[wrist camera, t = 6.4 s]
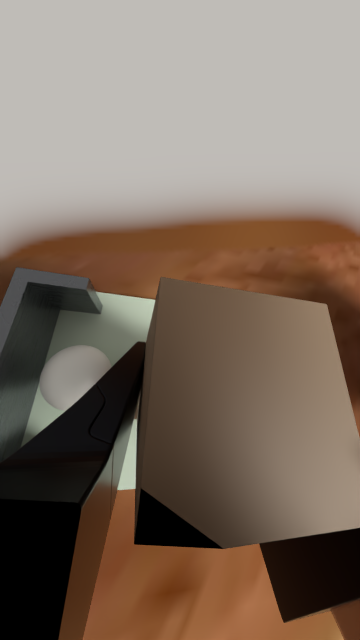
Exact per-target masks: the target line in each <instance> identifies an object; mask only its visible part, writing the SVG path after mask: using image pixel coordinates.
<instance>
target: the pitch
mask: <svg viewBox="0 0 360 640" xmlns="http://www.w3.org/2000/svg"><path fill="white" fill-rule="evenodd" d="M96 293H97V295H98V297H99V299H100V301H101V303H102V305H103V306H102V311H101V314H93V313H84V312H75V311H66V310H60V312H59V316H58V319H57V323H56V326H55V330H54V333H53V337H52V340H51V344H50V347H49V350H48V354H47V357H46V361H45V364H46V363H47V362H48V360H49V359H50V358H51V357H52V356H54V355H55V354H56V353H58V352H59V351H61V350H63V349H65V348H68V347H71V346H76V345H87V346H92V347H94V348H97V349H99V350H100V351H102V352H103V353H104V354H105V355H106V356H107V358H108V359H109V361H110V363H111V367H112V366H113V365H114V364H115V363H116V362H117V361H118V360H119V359H120V358H121V357H122V356H123V355H124V354H125V353H126V352H127V351H128V350H129V349H130V348H131V347H132V346H133V345H134V344H135V343H136V342H137V341H142V342H146V340H147V335H148V331H149V326H150V322H151V318H152V313H153V309H154V304H155V300H152V299H144V298H137V297H130V296H122V295H115V294H108V293H100V292H96ZM45 364H44V366H45ZM39 384H40V382H39ZM64 412H65V411H64V410H59V409H57V408H54V407H53V406H51V405H50V404H49V403H48V402H46V401H45V399H44V398H43V396H42V394H41V391H40V385H38V389H37V392H36V396H35V399H34V403H33V406H32V410H31V413H30V417H29V420H28V424H27V427H26V431H25V434H24V437H23V441H22V444H21V447H22V446H23V445H25V444H26V443H27V442H28V441H30V440H31V439H32V438H33V437H34V436H36V435H37V434H38V433H39V432H41V431H42V430H43V429H44V428H45V427H47V426H48V425H49V424H50V423H52V422H53V421H54V420H55V419H56V418H58V417H59V416H60V415H61V414H63V413H64ZM136 443H137V419H134V421H133V425H132V429H131V433H130V438H129V442H128V446H127V451H126V455H125V459H124V463H123V468H122V472H121V476H120V481H119V485H118V489H117V490H125V489H135V487H136Z"/></svg>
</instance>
